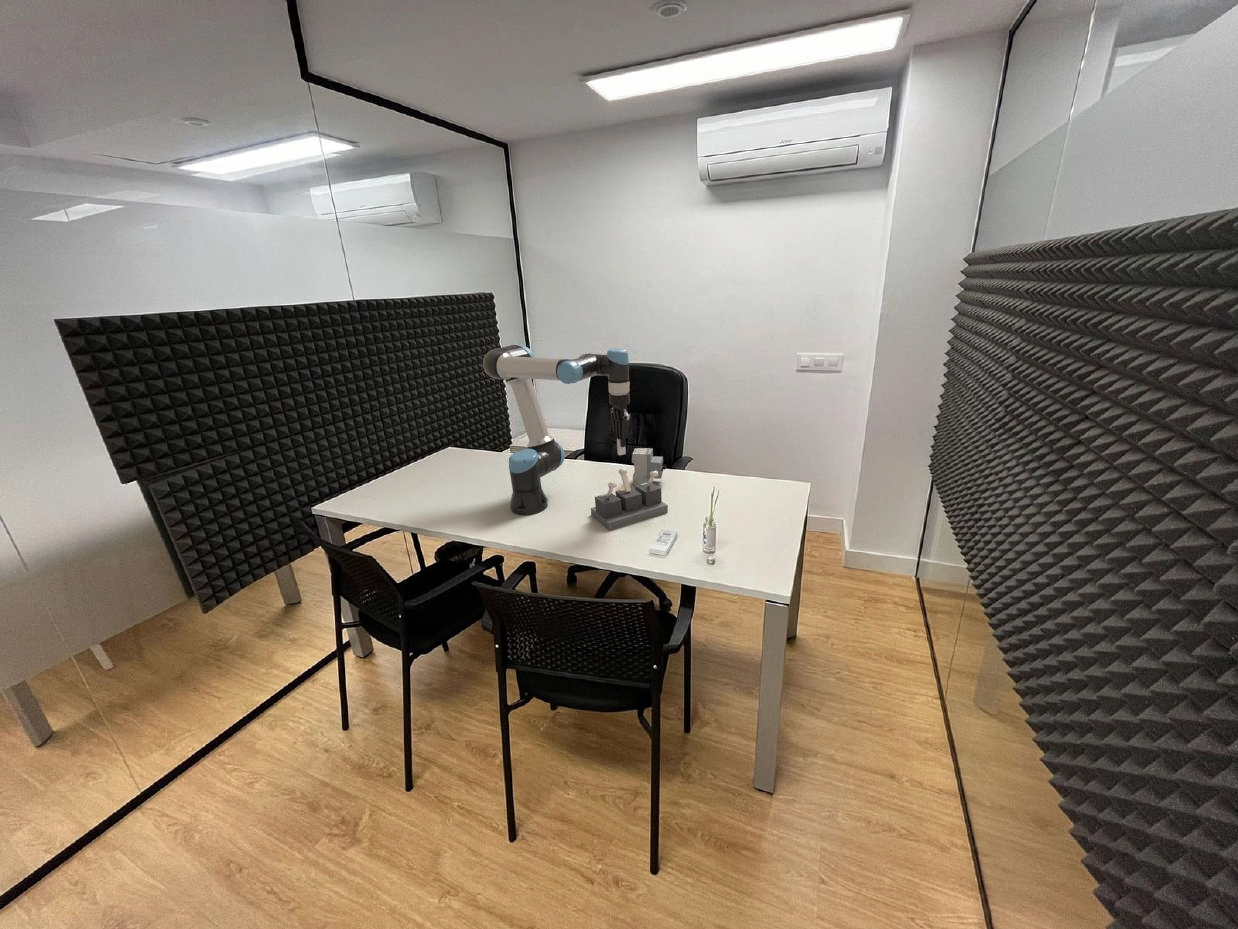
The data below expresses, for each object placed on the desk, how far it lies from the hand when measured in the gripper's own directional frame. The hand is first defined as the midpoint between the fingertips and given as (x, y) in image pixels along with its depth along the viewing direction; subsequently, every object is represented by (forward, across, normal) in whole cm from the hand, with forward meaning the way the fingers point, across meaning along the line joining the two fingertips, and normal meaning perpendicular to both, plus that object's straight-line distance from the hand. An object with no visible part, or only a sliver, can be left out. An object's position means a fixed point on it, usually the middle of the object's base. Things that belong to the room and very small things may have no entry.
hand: (621, 454), depth 183 cm
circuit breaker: (+24, +18, -23) cm, 38 cm away
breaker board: (+24, -4, 0) cm, 24 cm away
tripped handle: (+14, -4, 0) cm, 15 cm away
